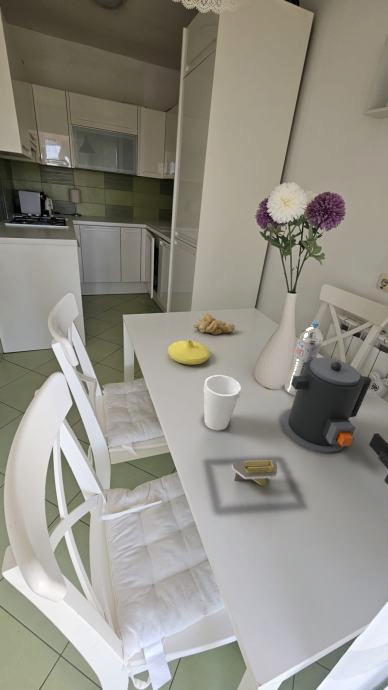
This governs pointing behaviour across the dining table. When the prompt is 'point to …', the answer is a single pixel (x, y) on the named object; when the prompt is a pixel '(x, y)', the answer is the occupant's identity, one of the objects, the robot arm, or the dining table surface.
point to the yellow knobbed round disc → (188, 352)
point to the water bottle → (304, 353)
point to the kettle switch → (344, 438)
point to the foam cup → (220, 400)
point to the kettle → (324, 403)
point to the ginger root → (213, 325)
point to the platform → (255, 470)
